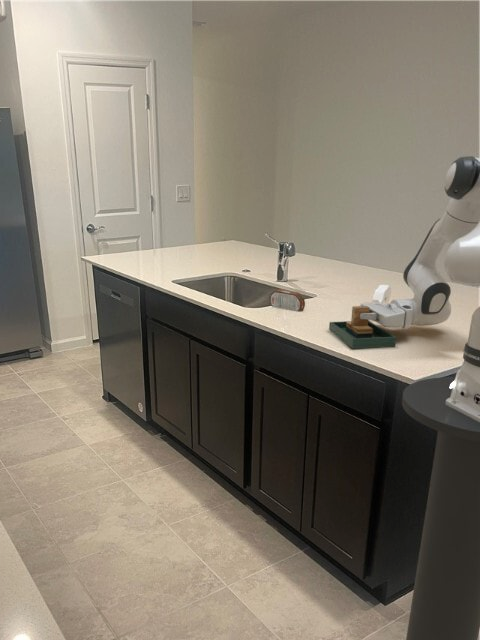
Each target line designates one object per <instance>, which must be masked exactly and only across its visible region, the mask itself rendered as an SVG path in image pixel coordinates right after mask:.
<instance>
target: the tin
mask: <svg viewBox="0 0 480 640" xmlns="http://www.w3.org/2000/svg"><path fill="white" fill-rule="evenodd" d="M269 304H270V306H271V307H273V308H279V309H284V310H290V311H294V312H295V311H296V312H302V311H304V310H305V308H306V307H305V306H306V300H305V297H304V296H303V295H302V294H301V293H300V292H298V291H292V290H288V289H282V288H278V289H276V290H274V291H273V292H271V294H270V295H269Z"/></svg>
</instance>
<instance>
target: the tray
mask: <svg viewBox="0 0 480 640" xmlns="http://www.w3.org/2000/svg"><path fill="white" fill-rule="evenodd" d="M346 322H351V320H347V321H329V322H328V323H329V325H328V330H329V331H331V332H332V334H334V335H335V336H336V337H337V338H339V339H340V340H341V341H342V342H343V343H344V344H346V345H347V346H348V347H349V348H351V349H371V348H372V349H373V348H395V347H396V341H397V337H396V336H395V335H393V334H392V333H390V332H388V331H387V330H385V329H383V328H381V327H380V326H379V325H377V324H375V323H374V322H372V321H371V322H370V321H368V326H369V327H371V328H373V333H372V338H356V337H354V336H353V335H352V334H350V333H349V332H347V331H346Z"/></svg>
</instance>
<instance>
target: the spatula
mask: <svg viewBox="0 0 480 640" xmlns="http://www.w3.org/2000/svg"><path fill="white" fill-rule="evenodd" d="M391 294H392V287H391V285H389V284H379V285H378V287H377V288H376V289H375V290H374V293H373V296H372V301H371V302H376V303H384V304H386V305H388V304H389V302H390V298H391ZM368 321H370V322H371V323H372V321H373V320H368Z"/></svg>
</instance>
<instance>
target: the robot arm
mask: <svg viewBox="0 0 480 640" xmlns="http://www.w3.org/2000/svg"><path fill="white" fill-rule="evenodd" d="M444 178H445V179H444V192H445V194H446V196H447V197H449V198H450V199H449V201H448V203H447V206H446V208H445V210H444V212H443V214H442V216H441V217H440V218H438V219H437V220H436V221H435V222H434V223H433V225H432V226H431V228H430V230H429V231H428V233H427V235H426V236H425V238H424V240H423V242H422V244H421V246H420V248H419V249H418V251H417V253H416V254H415V256H414V258H413V259H412V260H411V261H410V262H409V263H408V264H407V266H406V267H405V269H404V271H403V276H402V278H403V281H404V283H405V284H406V285H407V287H409V289H410V290H411V292H412V293H413V298H407V299H406V298H404V299H403V298H402V299H400V298H399V299H392V300H391V301H390V303H388V305H386V304H384V303H376V302H372V301H371V302H370V301H369V302H368V301H367V302H366V301H365V302H361V303H360V306H368V307H370V309H369V313H359V318H360V319H367V320H372V321H374V322H375V323H377V324H378V325H381V326H382V327H384V328H393V329H394V328H398V329H399V328H400V329H403V330H410V329H411V326H418V327H425V326H427V327H428V326H436V325H440V324H442V323H445V322H446V321H448V319H449V318H450V316H451V313H452V305H451V302H450V299H449V298H450V296H451V293H452V289H451V286H450V284H449V283H448V282H447V281H446V279H445V278H444V276H443V275H442V274H441V272H440V271H439V270H438V267H437V259H438V257H439V256H440V254H441V252H442V251H443V249H444V247H445V245H446V244H447V243H450V244H451V245H450V246H449V247H448V248H447V251H446V253H445V256H444V261H443V262H444V263H443V264H444V270H445V273H446V275H447V277H448V278H449V280H451V281H452V282H453V283H454V282H456V283H459V284H462V285H466V286H467V285H469V286H472V287H480V157H475V156H470V155H469V156H461V157H458V158H457V159H455V160H454V161H453V162H452V163H451V165H450V167H449V168H448V169H447V171H446V174H445V177H444ZM462 353H463V354H462V359H463V361H462V363H461V366H460V367H459V369H458V370H457V371H456V374H455V376H454V377H455V381H454V382H453V383H452V384H451V385H450V388H452V387H453V389H452V392H451V396H450V398H448V399H447V400H446V402H445V405H447V406H449V407H451V408H453V409H455V410H457V411H459V412H460V413H462V414H464V415H466V416H468V417H470V418H472V419H474V420H476V421H478V422H480V306H479V307H477V308H475V310H474V311H473V313H472V314H471V319H470V324H469V332H468V336H467V342H466V343H465V345H464V348H463V352H462Z"/></svg>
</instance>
